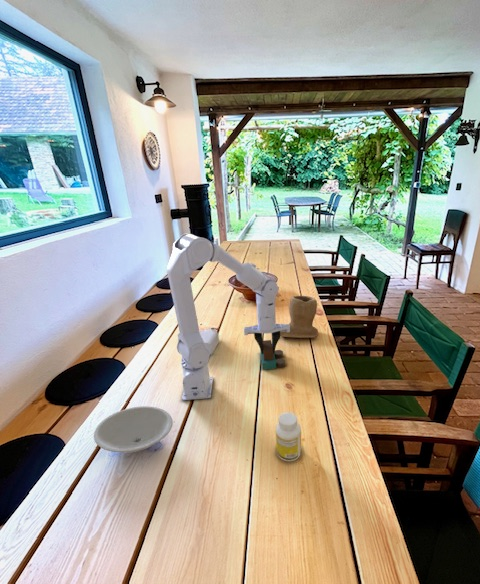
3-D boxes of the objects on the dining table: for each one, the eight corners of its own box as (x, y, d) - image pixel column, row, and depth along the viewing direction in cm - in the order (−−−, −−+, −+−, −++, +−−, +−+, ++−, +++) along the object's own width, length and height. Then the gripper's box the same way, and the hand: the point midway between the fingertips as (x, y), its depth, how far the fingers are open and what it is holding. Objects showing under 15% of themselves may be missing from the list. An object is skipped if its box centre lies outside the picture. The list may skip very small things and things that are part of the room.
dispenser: (223, 335, 125) (212, 355, 112) (201, 334, 127) (187, 353, 113) (222, 324, 123) (210, 343, 110) (199, 323, 125) (185, 342, 111)
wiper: (276, 368, 103) (275, 352, 100) (262, 369, 103) (261, 353, 100) (273, 352, 112) (272, 337, 109) (260, 353, 112) (259, 338, 109)
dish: (85, 466, 71) (78, 449, 69) (118, 420, 84) (113, 405, 82) (162, 470, 69) (158, 453, 67) (184, 422, 82) (181, 407, 80)
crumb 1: (283, 358, 109) (283, 354, 108) (274, 359, 108) (274, 354, 108) (282, 353, 112) (282, 349, 111) (273, 354, 111) (273, 350, 111)
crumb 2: (286, 367, 103) (286, 363, 103) (276, 368, 103) (276, 364, 103) (284, 362, 106) (284, 358, 106) (275, 362, 106) (275, 358, 105)
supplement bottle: (286, 439, 75) (285, 406, 71) (305, 450, 72) (306, 416, 68) (271, 454, 72) (270, 420, 68) (291, 466, 69) (291, 431, 64)
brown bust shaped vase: (318, 327, 129) (319, 292, 122) (317, 342, 118) (319, 304, 112) (280, 326, 131) (279, 291, 125) (276, 340, 120) (275, 303, 114)
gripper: (287, 308, 104) (287, 344, 110) (242, 310, 103) (245, 347, 109) (290, 316, 98) (291, 355, 104) (243, 320, 97) (246, 358, 103)
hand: (267, 352), depth 106 cm, fingers closed on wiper, 3 cm apart
